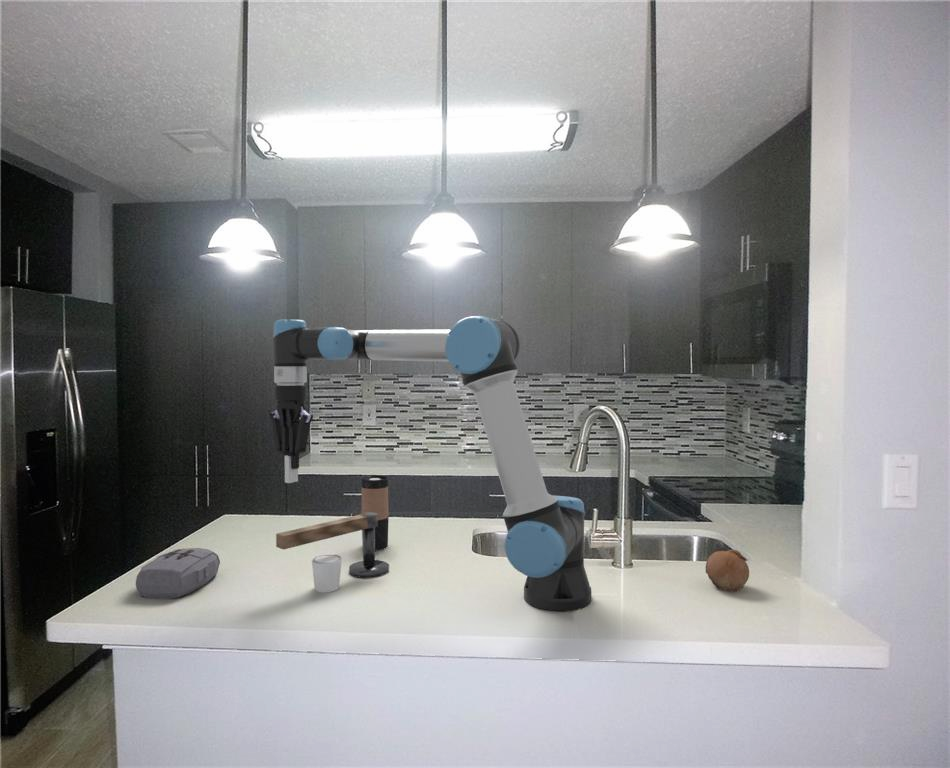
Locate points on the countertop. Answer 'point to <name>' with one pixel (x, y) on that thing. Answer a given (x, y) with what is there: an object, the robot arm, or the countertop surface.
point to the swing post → (369, 559)
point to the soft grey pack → (177, 573)
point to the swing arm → (326, 530)
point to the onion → (727, 570)
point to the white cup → (326, 572)
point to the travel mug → (377, 506)
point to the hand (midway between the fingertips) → (291, 481)
